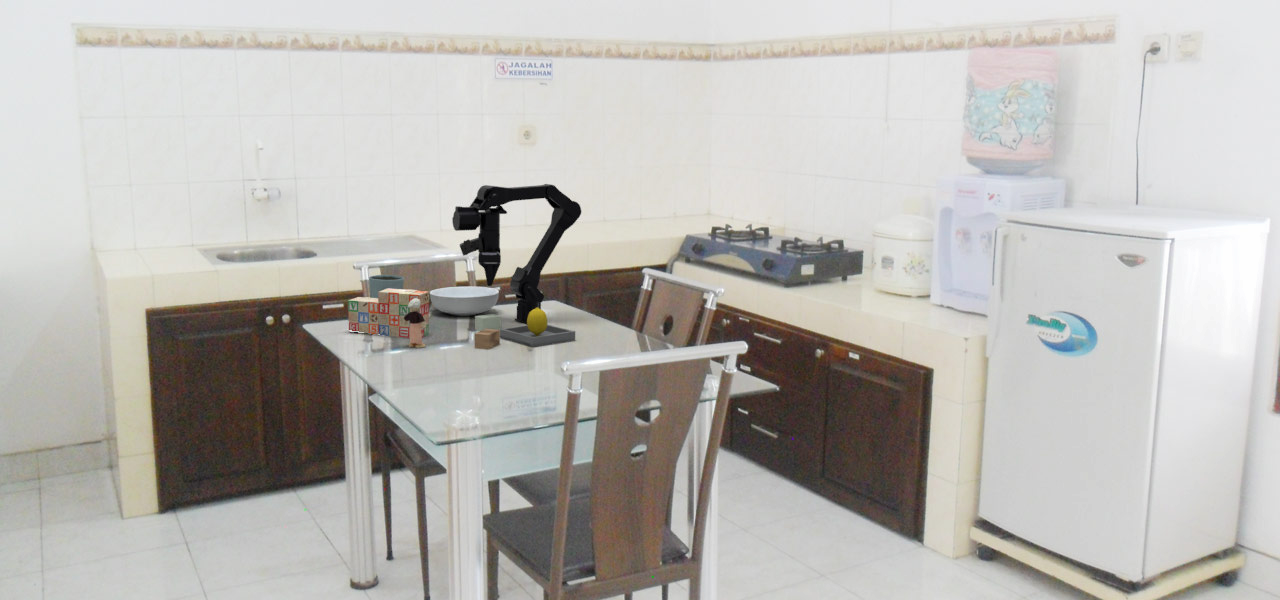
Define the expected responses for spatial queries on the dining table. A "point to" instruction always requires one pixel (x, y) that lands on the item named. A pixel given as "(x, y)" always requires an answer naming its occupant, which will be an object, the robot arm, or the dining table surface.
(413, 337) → the grandmother figurine
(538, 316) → the lemon
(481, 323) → the sage block
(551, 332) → the charcoal tray
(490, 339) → the walnut block
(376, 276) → the blue-grey pot
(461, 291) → the serving bowl
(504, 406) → the dining table surface
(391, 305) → the stack of blocks
